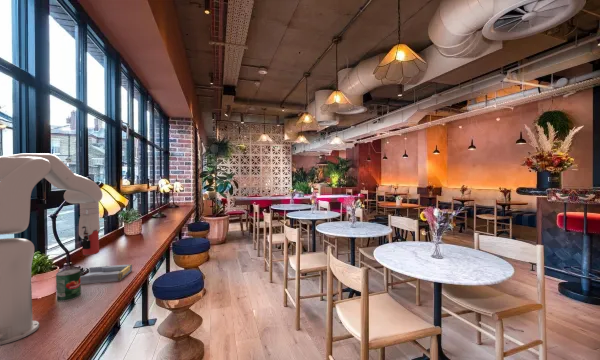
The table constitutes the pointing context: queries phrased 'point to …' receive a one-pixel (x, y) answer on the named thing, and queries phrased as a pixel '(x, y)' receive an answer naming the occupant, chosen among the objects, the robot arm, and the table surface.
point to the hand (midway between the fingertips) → (90, 246)
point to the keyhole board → (106, 274)
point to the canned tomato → (68, 284)
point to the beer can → (93, 244)
